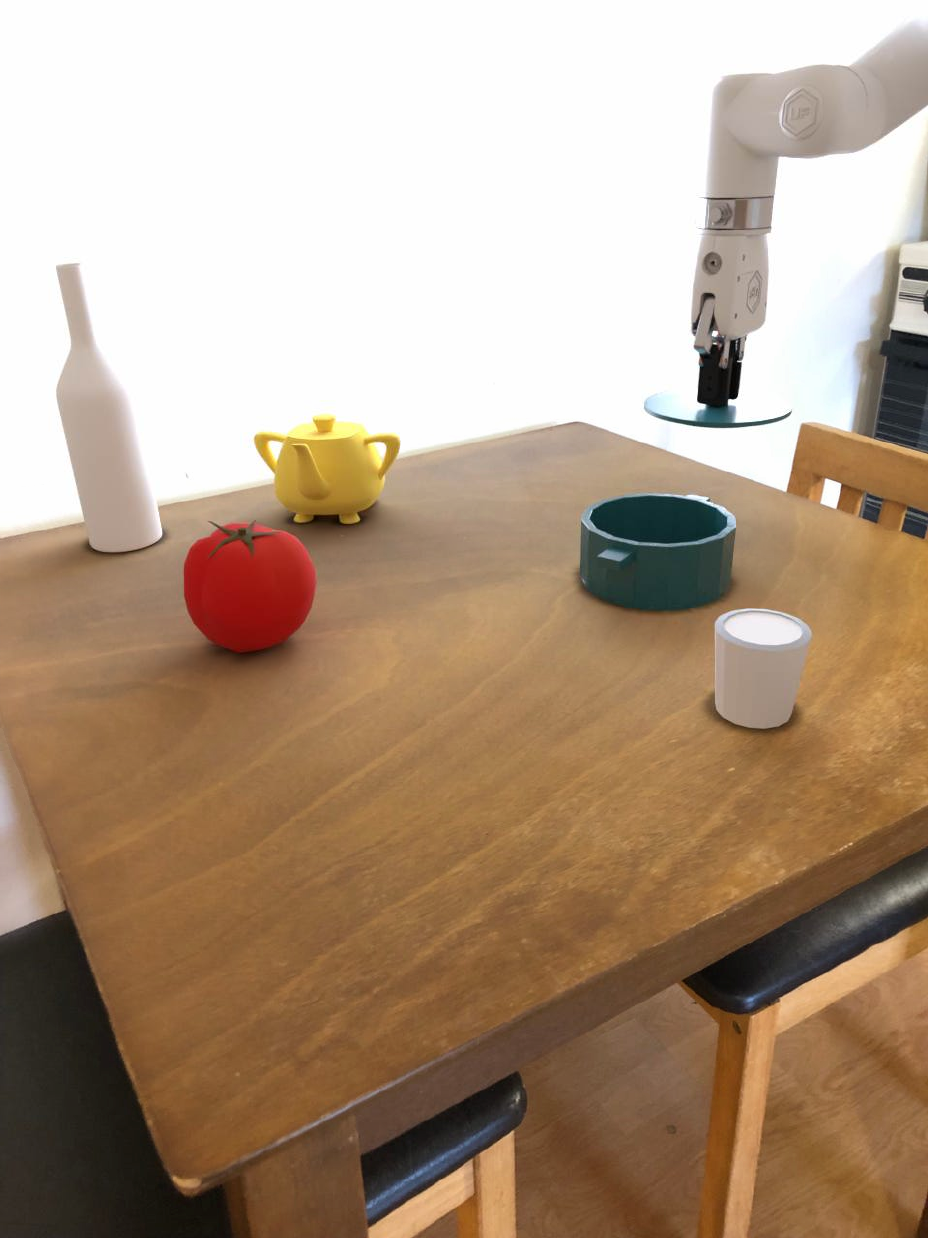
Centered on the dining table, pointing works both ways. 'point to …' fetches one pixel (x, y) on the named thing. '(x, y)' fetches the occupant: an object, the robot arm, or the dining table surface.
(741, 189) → the robot arm
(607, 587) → the pot
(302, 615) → the tomato
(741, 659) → the white cup
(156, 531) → the bottle
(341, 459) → the teapot
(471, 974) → the dining table surface
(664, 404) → the lid
